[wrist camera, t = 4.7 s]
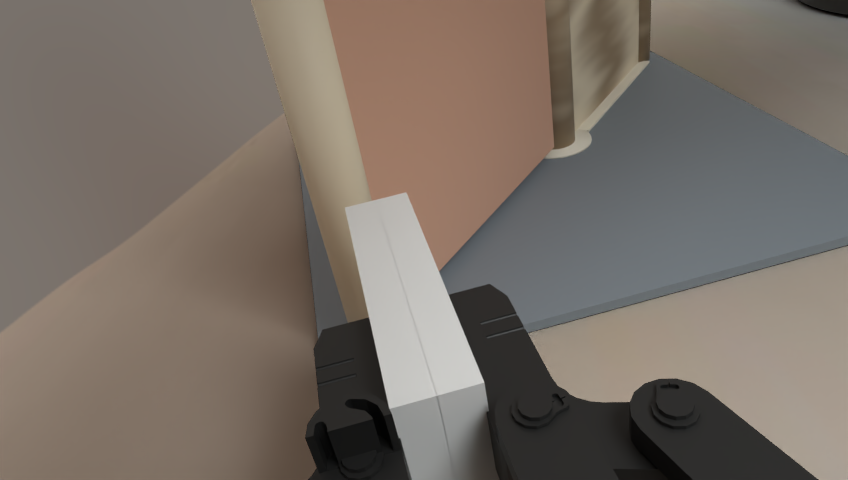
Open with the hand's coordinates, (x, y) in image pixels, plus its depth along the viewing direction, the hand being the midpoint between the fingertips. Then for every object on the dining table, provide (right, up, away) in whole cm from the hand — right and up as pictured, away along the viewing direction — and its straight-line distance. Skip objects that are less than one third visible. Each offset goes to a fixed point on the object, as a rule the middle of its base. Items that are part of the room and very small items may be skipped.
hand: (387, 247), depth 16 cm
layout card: (+6, +4, +16) cm, 18 cm away
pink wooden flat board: (+3, +1, +11) cm, 11 cm away
